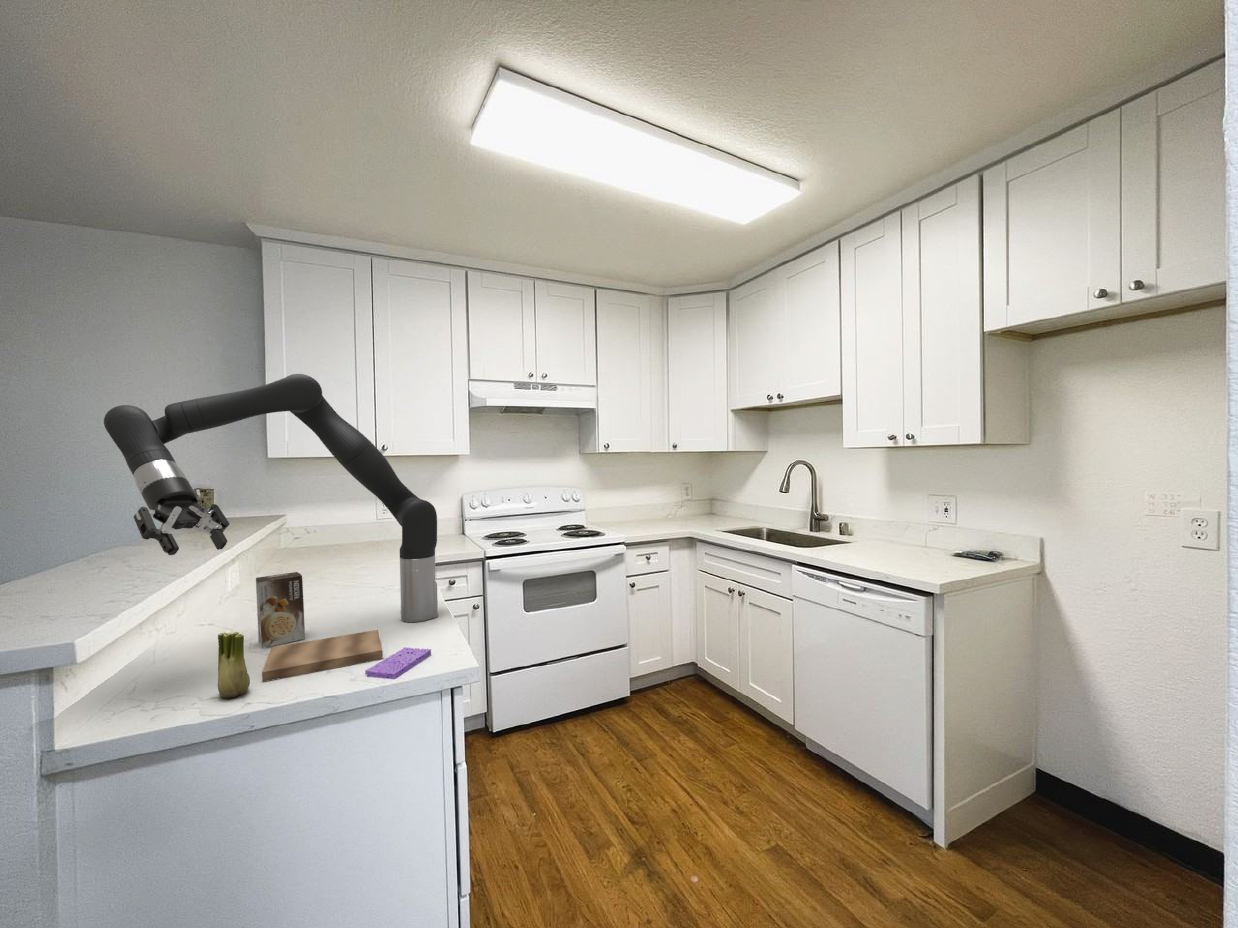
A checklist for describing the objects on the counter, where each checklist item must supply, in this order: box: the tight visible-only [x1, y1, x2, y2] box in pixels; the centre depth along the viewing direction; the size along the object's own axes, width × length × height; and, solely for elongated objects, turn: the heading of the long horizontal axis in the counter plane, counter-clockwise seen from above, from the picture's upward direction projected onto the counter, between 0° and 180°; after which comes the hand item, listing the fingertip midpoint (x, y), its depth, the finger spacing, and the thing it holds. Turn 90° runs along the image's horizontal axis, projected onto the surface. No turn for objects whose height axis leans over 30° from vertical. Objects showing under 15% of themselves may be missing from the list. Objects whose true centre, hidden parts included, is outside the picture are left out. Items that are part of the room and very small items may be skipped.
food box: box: [255, 571, 306, 649], centre depth 123 cm, size 9×6×16 cm
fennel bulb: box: [217, 631, 251, 699], centre depth 96 cm, size 6×5×12 cm
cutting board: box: [261, 629, 383, 683], centre depth 113 cm, size 22×15×2 cm
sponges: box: [364, 647, 432, 680], centre depth 108 cm, size 7×13×2 cm, turn 166°
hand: (199, 549), depth 98 cm, fingers open, 8 cm apart
